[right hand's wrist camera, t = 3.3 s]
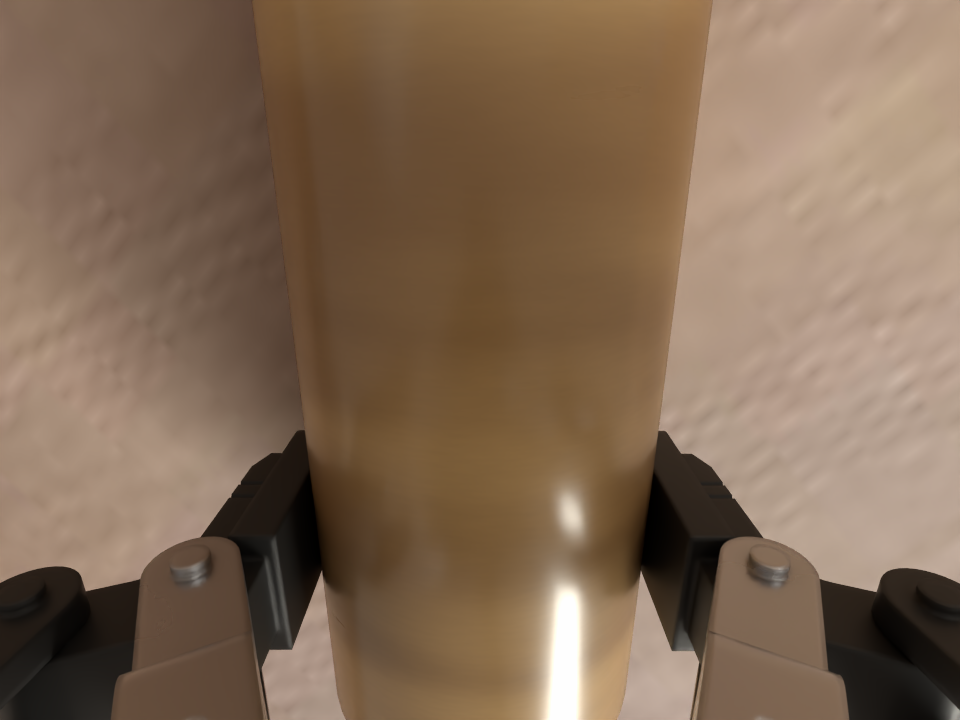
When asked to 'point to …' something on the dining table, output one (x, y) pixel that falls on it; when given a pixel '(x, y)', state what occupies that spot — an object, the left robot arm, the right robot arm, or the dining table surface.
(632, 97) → the rod
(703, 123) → the dining table surface
